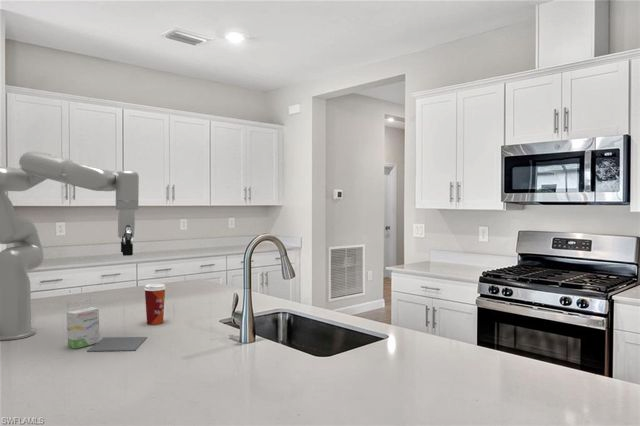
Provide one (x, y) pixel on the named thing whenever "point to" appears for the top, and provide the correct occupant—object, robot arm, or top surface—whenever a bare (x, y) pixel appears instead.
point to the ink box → (82, 324)
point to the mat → (117, 344)
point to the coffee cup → (154, 303)
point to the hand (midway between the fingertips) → (126, 253)
